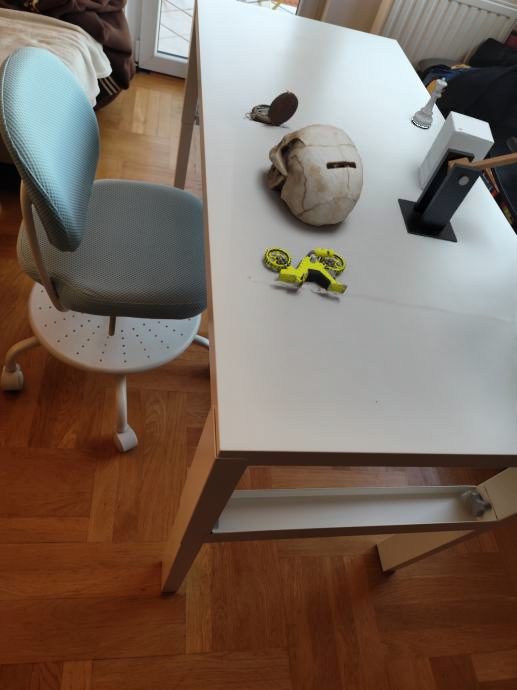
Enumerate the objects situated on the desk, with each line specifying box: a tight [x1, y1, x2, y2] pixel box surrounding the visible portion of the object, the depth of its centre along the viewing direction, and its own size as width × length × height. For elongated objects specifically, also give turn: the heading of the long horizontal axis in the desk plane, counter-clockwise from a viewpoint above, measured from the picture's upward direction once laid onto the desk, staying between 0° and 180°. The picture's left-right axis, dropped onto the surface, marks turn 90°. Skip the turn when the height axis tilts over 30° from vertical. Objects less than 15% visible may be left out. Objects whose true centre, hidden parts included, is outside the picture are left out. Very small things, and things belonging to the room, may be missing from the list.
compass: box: [244, 89, 299, 127], centre depth 90 cm, size 8×8×7 cm
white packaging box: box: [418, 110, 495, 191], centre depth 87 cm, size 7×7×13 cm
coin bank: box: [266, 123, 364, 227], centre depth 76 cm, size 16×17×13 cm
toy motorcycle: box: [263, 247, 349, 294], centre depth 67 cm, size 12×4×7 cm
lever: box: [447, 136, 517, 175], centre depth 75 cm, size 11×9×2 cm
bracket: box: [397, 148, 483, 244], centre depth 79 cm, size 9×9×13 cm
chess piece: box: [412, 77, 448, 127], centre depth 104 cm, size 4×4×10 cm
